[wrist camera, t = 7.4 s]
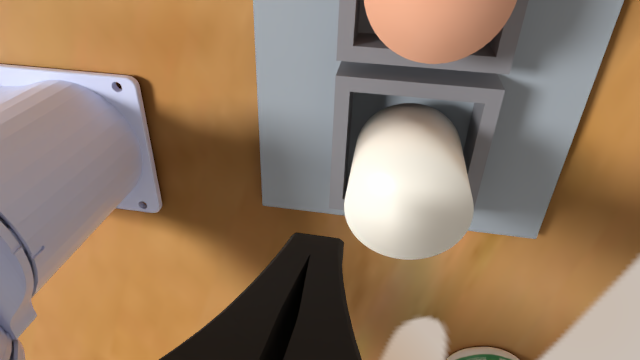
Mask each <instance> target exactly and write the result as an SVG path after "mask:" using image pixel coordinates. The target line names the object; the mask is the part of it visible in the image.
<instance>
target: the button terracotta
mask: <svg viewBox="0 0 640 360" xmlns="http://www.w3.org/2000/svg"><path fill="white" fill-rule="evenodd" d="M516 2H517V0H364V6H365V10H366V14H367V17H368V19H369V22H370V24H371V26H372V28H373V30H374V32H375V33H376V35H377V36H378V37H379V39H380V40H381V41H382V42H383V43H384V44H385V45H386V46H387V47H388V48H389V49H391V50H392V51H393V52H395V53H396V54H398V55H400V56H402V57H404V58H406V59H408V60H411V61H415V62H419V63H426V64H441V63H448V62H453V61H457V60H459V59H462V58H465V57H467V56H469V55H471V54H473V53H475V52H476V51H478V50H480V49H481V48H483V47H484V46H485V45H486V44H488V43H489V42H490V41H491V40H492V39H493V38H494V37H495V36H496V35H497V34H498V33H499V32H500V30H501V29H502V28H503V26H504V25H505V24H506V22H507V21H508V19H509V17H510V16H511V14H512V11H513V9H514V7H515V5H516Z"/></svg>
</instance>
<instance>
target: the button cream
mask: <svg viewBox="0 0 640 360" xmlns="http://www.w3.org/2000/svg"><path fill="white" fill-rule="evenodd" d="M344 212H345V218H346V221H347V224H348V226H349V228H350V230H351V231H352V232H353V234H354V235H355V236H356V237H357V239H358V240H359V241H360V242H362V243H363V244H364V245H365V246H367V247H368V248H370V249H371V250H373V251H375V252H377V253H379V254H382V255H384V256H388V257H391V258H397V259H406V260H414V259H423V258H428V257H432V256H435V255H438V254H440V253H442V252H445V251H446V250H448V249H450V248H451V247H453V246H454V245H455V244H456V243H458V242H459V241H460V240H461V239H462V238H463V236H464V235H465V234H466V232H467V230H468V229H469V227H470V224H471V222H472V218H473V213H474V204H473V198H472V193H471V189H470V184H469V179H468V174H467V170H466V165H465V160H464V156H463V151H462V146H461V141H460V137H459V134H458V132H457V130H456V128H455V126H454V125H453V123H452V122H451V121H450V120H449V119H448V118H447V117H446V116H445V115H444V114H443V113H441V112H440V111H438V110H436V109H434V108H432V107H429V106H426V105H423V104H417V103H401V104H396V105H392V106H389V107H386V108H384V109H382V110H380V111H379V112H377V113H376V114H374V115H373V116H372V117H371V118H369V120H368V121H367V122H366V123H365V124H364V126H363V127H362V129H361V131H360V133H359V135H358V138H357V142H356V147H355V152H354V157H353V162H352V167H351V171H350V176H349V181H348V186H347V191H346V196H345V202H344Z"/></svg>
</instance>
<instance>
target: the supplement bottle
mask: <svg viewBox="0 0 640 360" xmlns="http://www.w3.org/2000/svg"><path fill="white" fill-rule="evenodd" d="M446 360H519V359H518V358H517V357H516V356H514V355H513V354H511V353H509V352H507V351H504V350H502V349H498V348H493V347H472V348H466V349H463V350H460V351H457V352H455V353H453V354H452V355H451V356H449V357H448V358H447V359H446Z"/></svg>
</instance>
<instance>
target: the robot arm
mask: <svg viewBox="0 0 640 360" xmlns="http://www.w3.org/2000/svg"><path fill="white" fill-rule="evenodd" d="M116 82H118V83H119V84H120V85H121V86H122V89H120V88H119V87H117V85H116ZM143 202H145V203H146V204H147V205H145V204H144V203H143ZM115 208H119V209H126V210H134V211H142V212H150V213H157V212H159V210H160V209H161V208H162V200H161V194H160V189H159V184H158V179H157V173H156V168H155V163H154V158H153V153H152V147H151V142H150V137H149V132H148V126H147V121H146V116H145V111H144V105H143V100H142V95H141V90H140V85H139V83H138V81H137V80H136V79H135V78H133V77H132V76H128V75H118V74H106V73H95V72H84V71H73V70H62V69H51V68H40V67H29V66H18V65H6V64H0V360H25V353H24V348H23V346H22V344H21V342H20V341H19V340H18V339H17V338H18V337H19V336H20V335H21V334H22V333H23V332H24V330H25V329H26V328H27V327H28V326H29V325H30V324H31V322H32V321H33V320H34V319H35V318H36V317H37V314H36V312H35V310H34V309H33V306H32V303H31V298H32V297H33V296H34V295H35V294H36V293H37V292H38V291H39V290H40V289H41V288H42V287H43V285H44V284H45V283H46V282H47V281H48V280H49V279H50V278H51V277H52V276H53V275H54V274H55V273H56V272H57V270H58V269H59V268H60V267H61V266H62V265H63V264H64V263H65V262H66V261H67V260H68V259H69V258H70V256H71V255H72V254H73V253H74V252H75V251H76V250H77V249H78V248H79V247H80V246H81V245H82V244H83V242H84V241H85V240H86V239H87V238H88V237H89V236H90V235H91V234H92V233H93V232H94V231H95V230H96V228H97V227H98V226H99V225H100V224H101V223H102V222H103V221H104V220H105V219H106V218H107V217H108V216H109V214H110V213H111V212H112V211H113V210H114V209H115ZM343 247H344V242H343V241H342V240H341V239H338V238H331V237H324V236H317V235H310V234H303V233H295V234H293V235H292V236H291V237H290V239H289V240H288V241H287V243H286V244H285V245H284V247H283V248H282V249H281V250H280V252H279V253H278V254H277V255H276V257H275V258H274V259H273V260H272V261H271V262H270V264H269V265H268V266H267V267H266V268H265V269H264V270H263V271H262V273H261V274H260V275H259V276H258V277H257V278H256V279H255V280H254V281H253V282H252V283H251V284H250V285H249V286H248V287H247V288H246V289H245V290H244V291H243V292H242V293H241V294H240V295H239V296H238V297H237V298H236V299H235V300H234V301H233V302H232V303H231V304H230V305H229V306H228V307H227V308H226V309H224V310H223V311H222V312H221V313H220V314H219V315H218V316H216V317H215V318H214V319H213V320H212V321H211V322H209V323H208V324H207V325H206V326H204V327H203V328H202V329H201V330H199V331H198V332H197V333H195V334H194V335H193V336H191V337H190V338H189V339H187V340H186V341H185V342H183V343H182V344H181V345H179V346H178V347H177V348H175V349H174V350H172V351H171V352H169V353H168V354H167V355H165V356H164V357H162V358H160V359H159V360H362V359H361V356H360V353H359V350H358V346H357V343H356V340H355V336H354V332H353V329H352V324H351V320H350V316H349V312H348V307H347V302H346V296H345V290H344V283H343V274H342V260H343Z"/></svg>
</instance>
